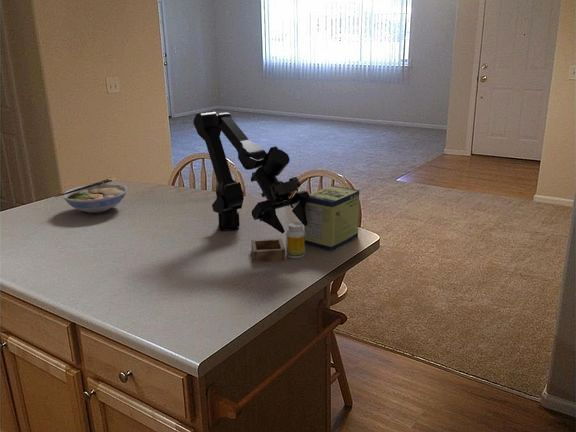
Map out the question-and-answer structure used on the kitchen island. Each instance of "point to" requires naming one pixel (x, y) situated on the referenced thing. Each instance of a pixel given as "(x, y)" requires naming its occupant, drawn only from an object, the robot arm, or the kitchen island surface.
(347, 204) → the protein box
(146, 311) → the kitchen island surface
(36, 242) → the kitchen island surface
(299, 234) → the supplement bottle
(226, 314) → the kitchen island surface
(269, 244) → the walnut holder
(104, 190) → the ramen bowl
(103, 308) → the kitchen island surface
